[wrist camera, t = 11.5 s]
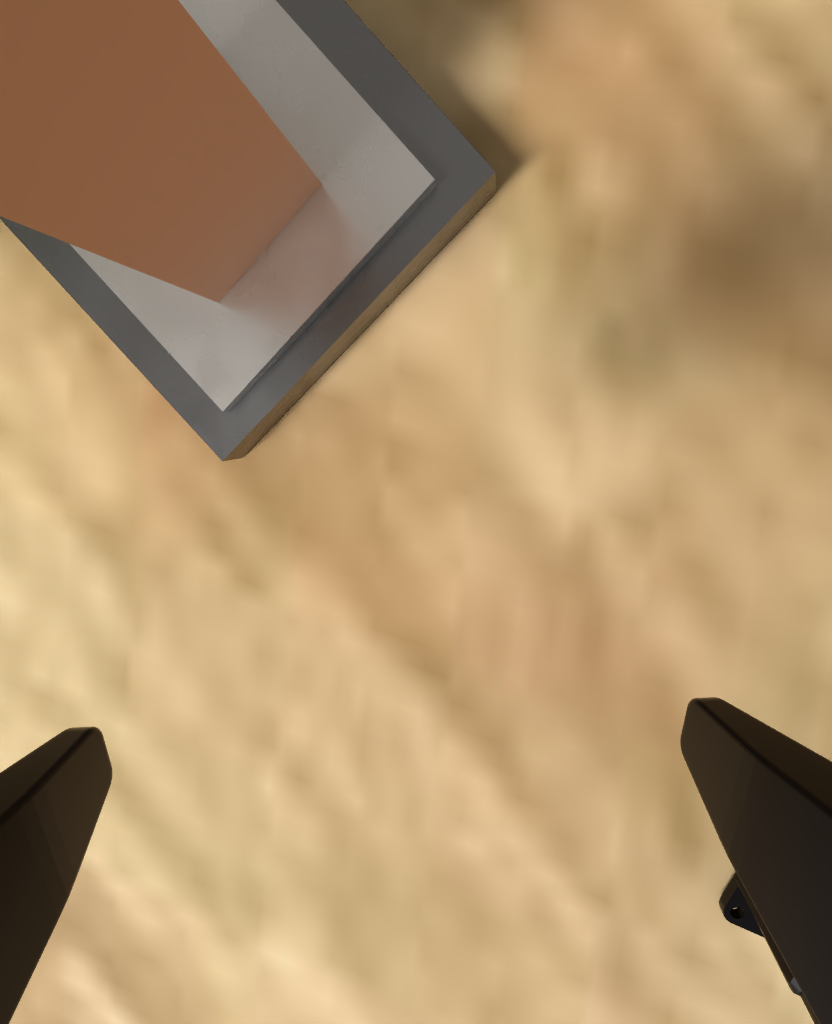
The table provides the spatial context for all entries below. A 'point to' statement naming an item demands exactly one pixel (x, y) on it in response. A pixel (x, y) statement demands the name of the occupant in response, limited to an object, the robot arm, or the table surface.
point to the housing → (140, 141)
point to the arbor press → (293, 224)
